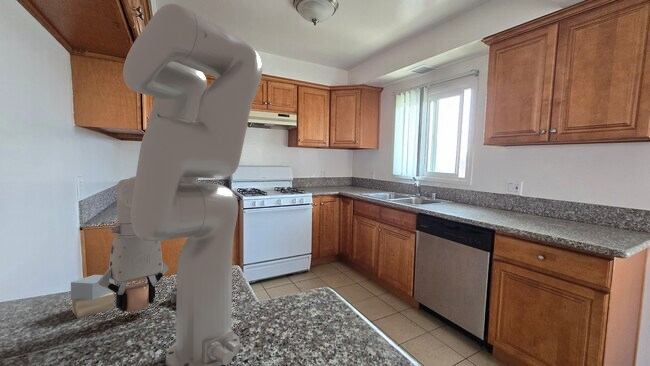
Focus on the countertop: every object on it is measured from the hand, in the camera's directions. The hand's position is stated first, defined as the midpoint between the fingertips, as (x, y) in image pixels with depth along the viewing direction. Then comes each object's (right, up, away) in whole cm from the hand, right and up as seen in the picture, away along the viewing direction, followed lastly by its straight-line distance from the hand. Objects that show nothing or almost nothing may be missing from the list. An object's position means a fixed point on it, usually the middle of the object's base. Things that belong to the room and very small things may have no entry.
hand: (136, 305), depth 67 cm
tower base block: (-13, -3, +3) cm, 14 cm away
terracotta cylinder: (0, -1, 0) cm, 1 cm away
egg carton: (+9, -3, +9) cm, 13 cm away
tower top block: (-13, +1, +3) cm, 14 cm away
